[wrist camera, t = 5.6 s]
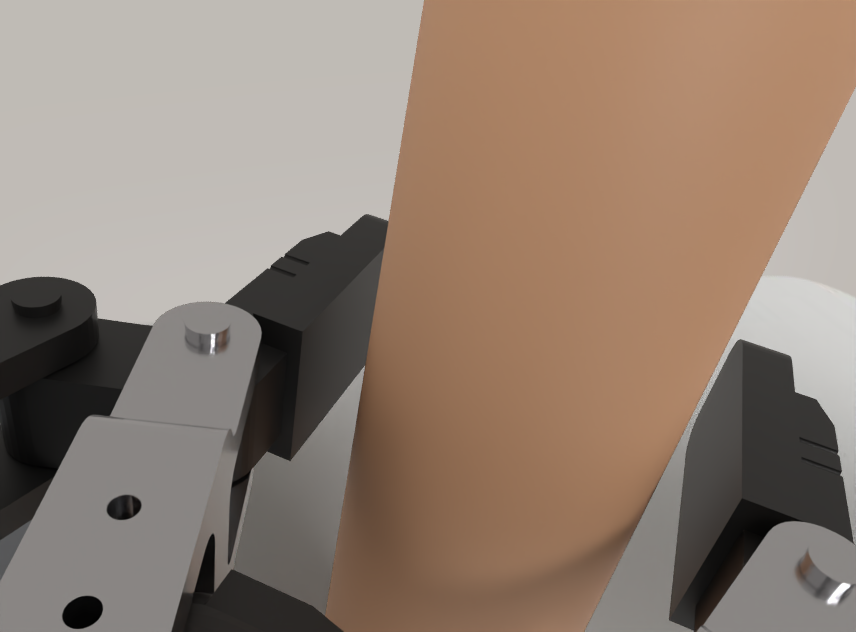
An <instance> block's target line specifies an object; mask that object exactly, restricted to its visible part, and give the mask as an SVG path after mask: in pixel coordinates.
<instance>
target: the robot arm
mask: <svg viewBox="0 0 856 632" xmlns="http://www.w3.org/2000/svg"><path fill="white" fill-rule="evenodd" d="M388 222H389V221H387V220H384V219H381V218H378V217H375V216H371V215H369V214H366V215H364V216H362V217H361V218H360V219H359V220H358V221H357V222H356V223H354V224H353V225H352V226H351V227H350V228H349V229H348V230H347V231H345V232H344V233H343V234H342V235H341V236H340V235H337V234H334V233H331V232H325V233H322V234H319V235H316V236H313V237H310V238H307V239H304V240H302V241H300V242H299V243H298V244H297V245H296V246H294V247H293V248H292V249H291V250H290V251H288V252H287V253H286V254H285V256H284V257H281V258H280V259H279V260H277V261H276V262H275V263H274V264H272V265H271V268H270V269H266V270H265V271H264V272H263V273H261V274H260V275H259V276H258V277H256V279H254V280H253V281H252V282H251V283H249V284H248V285H247V286H245V287H244V288H243V289H242V290H241V291H239V292H238V293H237V294H236V295H234V296H233V297H232V298H231V299H230V300H228V301H227V302H226V303H225V304H224V303H217V302H196V303H189V304H185V305H181V306H178V307H175V308H173V309H171V310H169V311H167V312H166V313H164V314H163V315H161V316H160V317H159V318H158V319H157V320H156V322H155V323H154V325H153V326H149V325H140V324H133V323H126V322H118V321H112V320H105V319H98V318H97V307H96V299H95V296H94V294H93V293H92V292H91V291H90V290H89V289H88V288H87V287H85V286H84V285H82V284H80V283H78V282H75V281H72V280H68V279H63V278H55V277H32V278H25V279H20V280H16V281H12V282H9V283H6V284H3V285H0V540H2V539H3V538H5V537H6V536H8V535H9V534H11V533H12V532H14V531H15V530H17V529H18V528H20V527H21V526H23V525H24V524H26V523H27V522H29V521H30V520H32V521H31V523H30V525H29V527H28V529H27V531H26V533H25V534H24V536H23V538H22V540H21V542H20V544H19V546H18V548H17V550H16V552H15V554H14V556H13V558H12V560H11V562H10V563H9V565H8V567H7V569H6V571H5V573H4V575H3V577H2V579H1V581H0V632H344V631H343V630H341V629H340V628H339V627H338V626H336V625H335V624H334V623H333V622H331V621H330V620H329V619H328V618H327V617H325V616H324V615H323V614H322V613H320V612H319V611H318V610H317V609H315V608H314V607H313V606H311V605H309V604H307V603H305V602H302V601H300V600H298V599H296V598H294V597H291V596H289V595H287V594H285V593H283V592H281V591H278V590H276V589H274V588H272V587H270V586H267V585H265V584H263V583H261V582H259V581H256V580H254V579H252V578H250V577H248V576H245V575H243V574H241V573H239V572H237V571H235V570H233V569H234V564H235V560H236V555H237V551H238V546H239V541H240V537H241V532H242V528H243V523H244V519H245V514H246V510H247V505H248V501H249V496H250V491H251V487H252V482H253V470H254V466H255V465H256V464H257V462H258V461H259V460H260V459H261V458H262V456H263V455H264V454H265V453H266V452H270V453H272V454H275V455H277V456H279V457H282V458H284V459H287V460H289V461H291V459H292V458H293V457H294V455H295V454H296V453H297V452H298V450H299V449H300V448H301V446H302V445H303V444H304V443H305V441H306V440H307V439H308V438H309V436H310V435H311V434H312V432H313V431H314V430H315V429H316V427H317V426H318V425H319V423H320V422H321V421H322V420H323V418H324V417H325V416H326V414H327V413H328V412H329V411H330V409H331V408H332V407H333V405H334V404H335V403H336V402H337V400H338V399H339V398H340V396H341V395H342V394H343V393H344V391H345V390H346V389H347V387H348V386H349V385H350V384H351V382H352V381H353V380H354V378H355V377H356V376H357V375H358V373H359V372H360V371H361V369H362V368H363V367H364V366H365V364H366V359H367V352H368V346H369V340H370V334H371V327H372V321H373V315H374V309H375V303H376V296H377V290H378V284H379V278H380V272H381V265H382V259H383V253H384V247H385V241H386V234H387V228H388ZM837 453H838V445H837V439H836V433H835V427H834V425H833V423H832V422H831V420H830V419H829V417H828V416H827V415H826V413H825V412H824V410H823V409H822V407H821V406H820V404H819V403H818V401H817V400H816V399H813V398H810V397H807V396H805V395H802V394H799V393H796V392H795V388H794V378H793V367H792V359H791V357H790V356H789V355H786V354H783V353H780V352H777V351H774V350H771V349H768V348H765V347H762V346H759V345H756V344H753V343H750V342H747V341H744V340H741V339H740V340H738V341H737V342H736V343H735V345H734V346H733V348H732V350H731V351H730V353H729V355H728V357H727V359H726V361H725V363H724V365H723V367H722V369H721V371H720V373H719V375H718V377H717V379H716V381H715V383H714V385H713V387H712V389H711V391H710V393H709V395H708V397H707V399H706V401H705V403H704V405H703V407H702V409H701V411H700V413H699V415H698V417H697V419H696V422H695V424H694V427H693V429H692V432H691V435H690V438H689V442H688V446H687V451H686V458H685V468H684V477H683V487H682V497H681V507H680V517H679V526H678V536H677V546H676V556H675V565H674V575H673V585H672V595H671V605H670V614H669V620H670V621H672V622H675V623H677V624H679V625H682V626H684V627H687V628H689V629H691V630H694V632H856V545H854V543H853V537H852V531H851V524H850V518H849V512H848V506H847V500H846V494H845V488H844V482H843V477H842V476H840V475H841V472H842V469H841V463H840V457H839V456H838V455H837Z"/></svg>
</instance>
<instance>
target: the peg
mask: <svg viewBox="0 0 856 632" xmlns="http://www.w3.org/2000/svg"><path fill="white" fill-rule="evenodd" d="M855 87H856V0H424V5H423V11H422V17H421V24H420V29H419V36H418V42H417V48H416V55H415V60H414V67H413V73H412V79H411V86H410V92H409V98H408V105H407V110H406V116H405V123H404V129H403V135H402V141H401V148H400V154H399V160H398V166H397V172H396V178H395V185H394V191H393V197H392V204H391V210H390V216H389V222H388V228H387V234H386V241H385V247H384V253H383V259H382V265H381V272H380V278H379V284H378V290H377V296H376V303H375V309H374V315H373V321H372V327H371V334H370V340H369V346H368V352H367V359H366V365H365V371H364V377H363V383H362V390H361V396H360V402H359V408H358V414H357V421H356V427H355V433H354V439H353V445H352V452H351V458H350V464H349V470H348V476H347V483H346V489H345V495H344V501H343V508H342V514H341V520H340V526H339V532H338V539H337V545H336V551H335V557H334V563H333V570H332V576H331V582H330V588H329V594H328V601H327V607H326V613H325V617H327V618H328V619H329V620H330V621H331V622H333V623H334V624H335V625H336V626H338V627H339V628H340V629H341V630H343V631H344V632H584V631H585V629H586V627H587V625H588V623H589V621H590V619H591V617H592V615H593V613H594V611H595V609H596V607H597V605H598V603H599V601H600V599H601V597H602V595H603V593H604V591H605V589H606V587H607V585H608V583H609V581H610V579H611V577H612V575H613V573H614V571H615V569H616V567H617V565H618V563H619V561H620V559H621V557H622V555H623V553H624V551H625V549H626V547H627V545H628V543H629V541H630V539H631V537H632V535H633V533H634V531H635V529H636V527H637V525H638V523H639V521H640V519H641V517H642V515H643V513H644V511H645V509H646V507H647V505H648V503H649V501H650V499H651V497H652V495H653V493H654V491H655V489H656V487H657V485H658V483H659V481H660V479H661V477H662V475H663V472H664V470H665V468H666V466H667V464H668V462H669V460H670V458H671V456H672V454H673V452H674V450H675V448H676V446H677V444H678V442H679V440H680V438H681V436H682V434H683V432H684V430H685V428H686V426H687V424H688V422H689V420H690V418H691V416H692V414H693V412H694V410H695V408H696V406H697V404H698V402H699V400H700V398H701V396H702V394H703V392H704V390H705V388H706V386H707V384H708V382H709V380H710V378H711V376H712V374H713V372H714V370H715V368H716V366H717V364H718V362H719V360H720V358H721V356H722V354H723V352H724V350H725V348H726V346H727V344H728V342H729V340H730V338H731V336H732V334H733V332H734V330H735V328H736V326H737V324H738V322H739V320H740V318H741V316H742V314H743V312H744V310H745V308H746V306H747V304H748V302H749V300H750V298H751V296H752V294H753V292H754V290H755V288H756V286H757V284H758V282H759V280H760V278H761V276H762V274H763V271H764V270H765V268H766V266H767V264H768V262H769V260H770V258H771V256H772V254H773V252H774V249H775V248H776V246H777V244H778V242H779V240H780V238H781V236H782V234H783V232H784V230H785V228H786V226H787V224H788V222H789V219H790V218H791V216H792V214H793V212H794V210H795V208H796V206H797V204H798V202H799V200H800V198H801V195H802V194H803V192H804V190H805V187H806V185H807V184H808V181H809V180H810V177H811V175H812V173H813V171H814V169H815V167H816V165H817V163H818V161H819V159H820V157H821V155H822V153H823V151H824V149H825V147H826V145H827V143H828V141H829V139H830V137H831V135H832V133H833V131H834V129H835V127H836V125H837V123H838V121H839V119H840V117H841V115H842V113H843V111H844V109H845V107H846V105H847V103H848V101H849V99H850V97H851V95H852V93H853V91H854V89H855Z"/></svg>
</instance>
